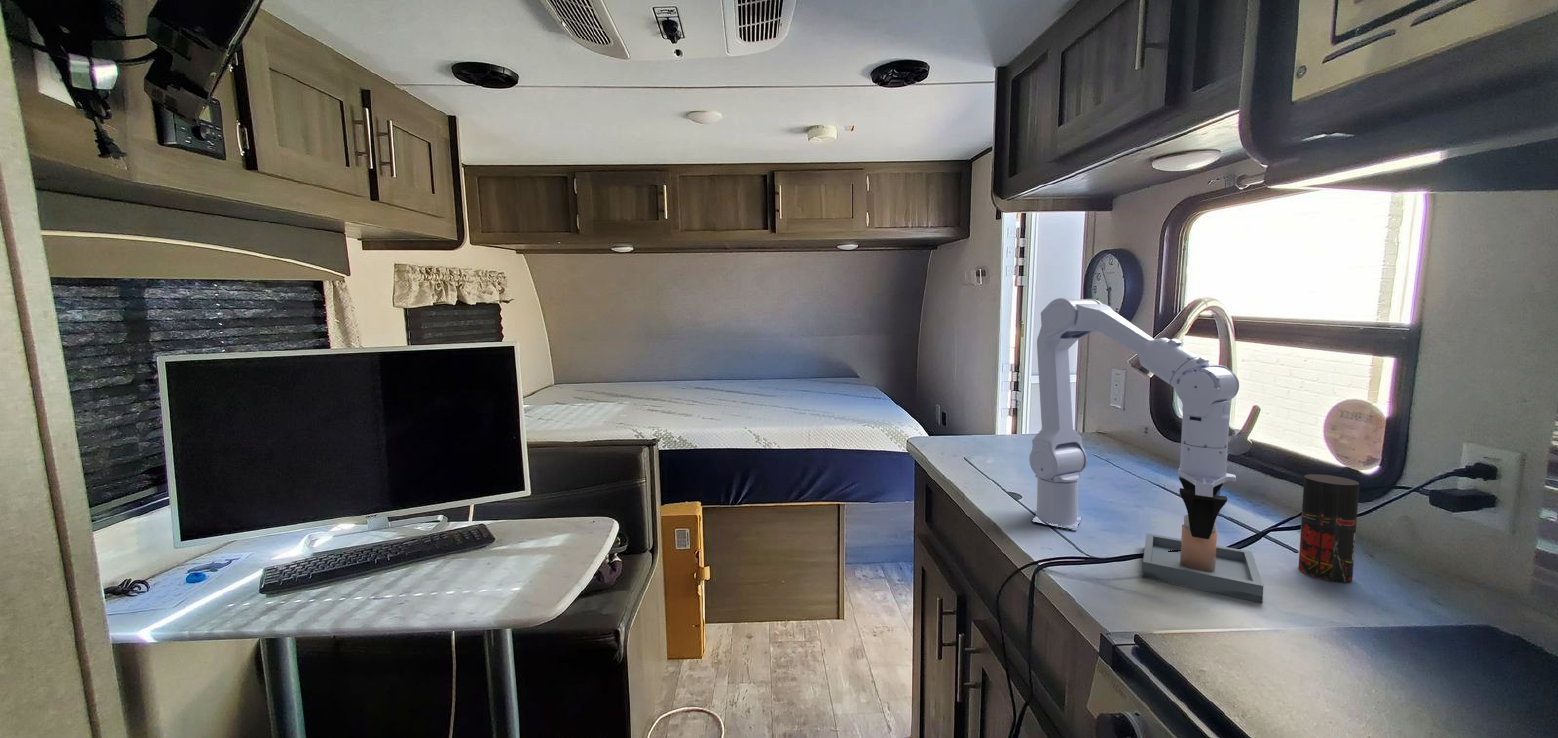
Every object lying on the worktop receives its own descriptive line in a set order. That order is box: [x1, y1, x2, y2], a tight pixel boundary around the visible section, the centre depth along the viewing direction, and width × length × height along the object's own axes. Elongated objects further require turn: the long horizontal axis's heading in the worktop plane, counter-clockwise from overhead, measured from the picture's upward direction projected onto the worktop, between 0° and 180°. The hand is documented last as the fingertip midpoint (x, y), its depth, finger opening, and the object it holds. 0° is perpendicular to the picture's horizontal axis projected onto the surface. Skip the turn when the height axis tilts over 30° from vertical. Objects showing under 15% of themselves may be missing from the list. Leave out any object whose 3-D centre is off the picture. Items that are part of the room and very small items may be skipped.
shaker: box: [1180, 514, 1218, 572], centre depth 86 cm, size 4×4×8 cm
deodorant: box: [1297, 473, 1360, 584], centre depth 84 cm, size 6×6×15 cm
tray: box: [1142, 532, 1264, 604], centre depth 86 cm, size 14×14×2 cm
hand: (1199, 529), depth 86 cm, fingers open, 7 cm apart
